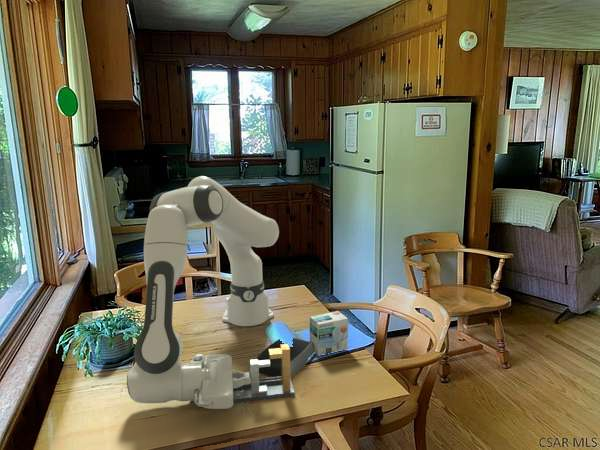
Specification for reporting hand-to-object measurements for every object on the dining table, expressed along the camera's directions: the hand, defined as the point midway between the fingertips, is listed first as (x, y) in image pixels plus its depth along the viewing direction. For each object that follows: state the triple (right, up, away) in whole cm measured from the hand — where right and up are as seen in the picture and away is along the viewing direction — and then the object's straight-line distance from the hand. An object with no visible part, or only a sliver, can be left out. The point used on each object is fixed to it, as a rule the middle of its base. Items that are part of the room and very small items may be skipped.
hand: (250, 377), depth 116 cm
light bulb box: (+22, 0, +26) cm, 34 cm away
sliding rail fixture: (-1, -5, +3) cm, 6 cm away
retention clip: (+3, -4, +1) cm, 5 cm away
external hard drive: (+8, -2, +20) cm, 21 cm away
